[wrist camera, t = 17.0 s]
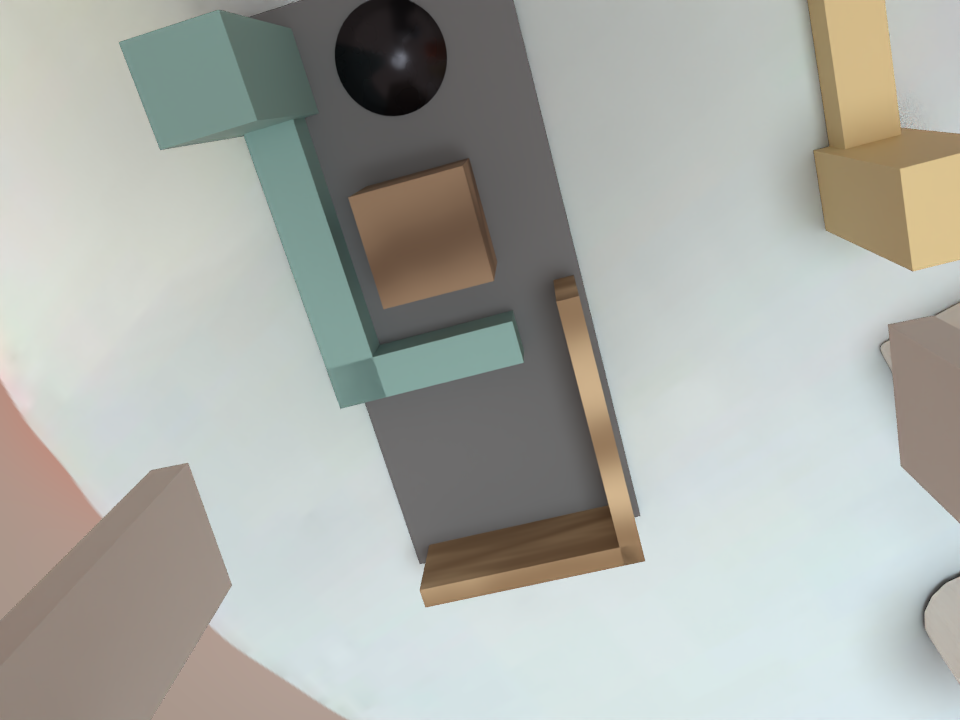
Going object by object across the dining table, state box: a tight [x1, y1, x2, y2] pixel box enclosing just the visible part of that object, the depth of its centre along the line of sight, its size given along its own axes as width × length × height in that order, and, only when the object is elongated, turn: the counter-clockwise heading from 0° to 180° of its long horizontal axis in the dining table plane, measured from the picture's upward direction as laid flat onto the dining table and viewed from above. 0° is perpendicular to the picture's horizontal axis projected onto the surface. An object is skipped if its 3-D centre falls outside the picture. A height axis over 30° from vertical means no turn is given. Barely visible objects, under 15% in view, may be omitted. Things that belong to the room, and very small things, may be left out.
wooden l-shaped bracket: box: [420, 275, 645, 607], centre depth 48 cm, size 16×13×6 cm
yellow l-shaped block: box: [807, 0, 960, 271], centre depth 38 cm, size 18×4×11 cm, turn 16°
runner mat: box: [249, 0, 640, 564], centre depth 48 cm, size 34×14×1 cm, turn 16°
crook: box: [119, 10, 524, 409], centre depth 42 cm, size 20×12×11 cm, turn 16°
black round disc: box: [335, 0, 447, 116], centre depth 45 cm, size 6×6×1 cm
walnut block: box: [348, 158, 497, 309], centre depth 45 cm, size 6×6×5 cm
